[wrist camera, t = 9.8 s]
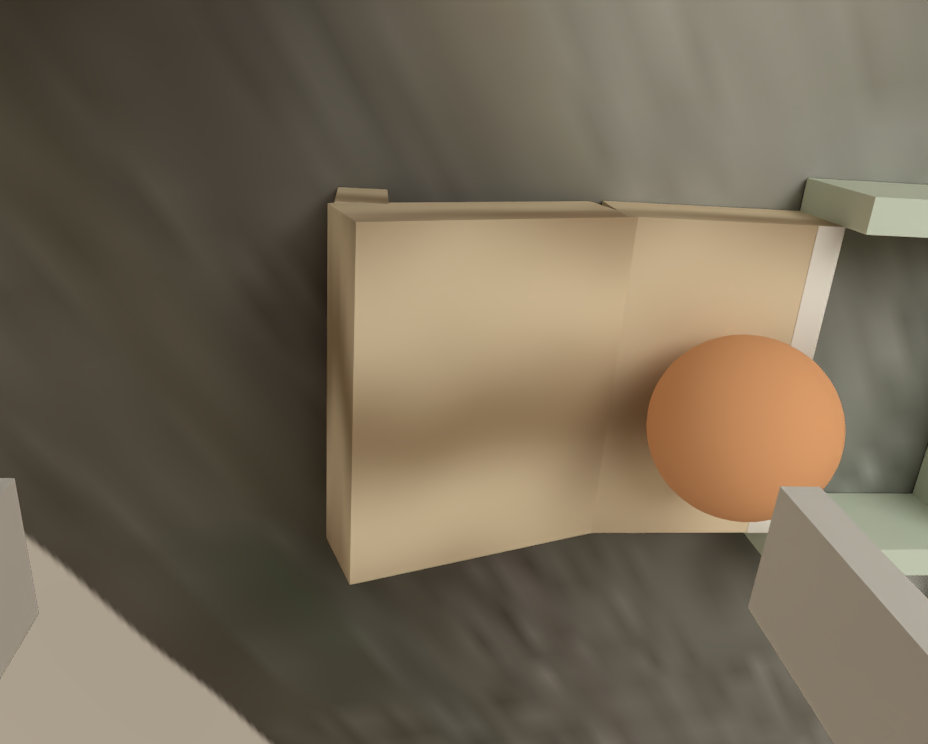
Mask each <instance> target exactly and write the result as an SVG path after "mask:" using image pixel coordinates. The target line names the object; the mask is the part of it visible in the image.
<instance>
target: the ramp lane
mask: <svg viewBox="0 0 928 744" xmlns="http://www.w3.org/2000/svg"><path fill="white" fill-rule="evenodd" d="M845 228H846V227H843V226H840V225H838V224H835V223H832V222H829V221H827V220H824V219H821V218H818V217H816V216H813V215H810V214H807V213H804V212H802V211H792V210H772V209H753V208H734V207H714V206H695V205H676V204H657V203H637V202H618V201H602V205H599V204H596V203H593V202H590V201H549V202H417V203H389V200H388V192H387V190H386V189H367V188H348V187H338V189H337V193H336V197H335V201H334V203H328V229H327V503H326V538H327V540H328V542H329V544H330V546H331V548H332V550H333V552H334V554H335V556H336V558H337V560H338V562H339V564H340V566H341V568H342V570H343V572H344V574H345V576H346V578H347V580H348V582H349V584H350V585H352V584H356V583H361V582H366V581H370V580H375V579H379V578H384V577H389V576H393V575H398V574H403V573H407V572H412V571H417V570H421V569H426V568H431V567H435V566H440V565H445V564H449V563H454V562H458V561H463V560H468V559H472V558H477V557H482V556H486V555H491V554H496V553H500V552H505V551H510V550H514V549H519V548H524V547H528V546H533V545H537V544H542V543H547V542H551V541H556V540H561V539H565V538H570V537H575V536H579V535H584V534H589V533H734V532H747V533H768V530H769V526H770V522H771V520H766V521H760V522H736V521H729V520H725V519H721V518H717V517H714V516H712V515H709V514H706V513H704V512H702V511H700V510H698V509H696V508H694V507H693V506H691V505H690V504H688V503H687V502H686V501H684V500H683V499H682V498H681V497H679V496H678V495H677V494H676V493H675V492H674V491H673V490H672V489H671V488H670V487H669V485H668V484H667V483H666V482H665V481H664V479H663V477H662V476H661V474H660V473H659V471H658V469H657V468H656V466H655V463H654V461H653V458H652V456H651V453H650V449H649V445H648V440H647V429H646V421H647V413H648V407H649V403H650V399H651V396H652V394H653V391H654V389H655V387H656V385H657V383H658V381H659V380H660V378H661V377H662V375H663V374H664V373H665V371H666V370H667V369H668V368H669V366H670V365H671V364H672V363H673V362H675V361H676V360H677V359H678V358H679V357H680V356H681V355H683V354H684V353H686V352H687V351H688V350H690V349H691V348H693V347H695V346H697V345H699V344H701V343H704V342H706V341H709V340H712V339H715V338H719V337H723V336H729V335H757V336H764V337H768V338H773V339H776V340H778V341H781V342H784V343H786V344H788V345H790V346H792V347H794V348H796V349H798V350H799V351H801V352H802V353H804V354H805V355H807V356H808V357H809V358H811V359H812V360H813V357H814V353H815V349H816V345H817V341H818V337H819V333H820V329H821V325H822V321H823V317H824V313H825V309H826V305H827V301H828V297H829V293H830V289H831V284H832V280H833V276H834V272H835V268H836V264H837V260H838V256H839V252H840V248H841V244H842V240H843V236H844V232H845Z"/></svg>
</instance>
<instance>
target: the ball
mask: <svg viewBox="0 0 928 744" xmlns="http://www.w3.org/2000/svg"><path fill="white" fill-rule="evenodd" d="M646 429H647V440H648V445H649V449H650V453H651V456H652V458H653V461H654V463H655V466H656V468H657V469H658V471H659V473H660V474H661V476H662V477H663V479H664V481H665V482H666V483H667V484H668V485H669V487H670V488H671V489H672V490H673V491H674V492H675V493H676V494H677V495H678V496H679V497H681V498H682V499H683V500H684V501H686V502H687V503H688V504H690V505H691V506H693V507H694V508H696V509H698V510H700V511H702V512H704V513H706V514H709V515H712V516H714V517H717V518H721V519H725V520H729V521H736V522H760V521H766V520H771V519H772V515H773V511H774V507H775V504H776V500H777V496H778V492H779V489H780V486H795V487H820V488H821V489H822V490H823V489H824V488H825V486H826V485H827V484H828V483H829V481H830V480H831V478H832V476H833V475H834V473H835V471H836V469H837V467H838V465H839V462H840V460H841V456H842V453H843V449H844V444H845V419H844V413H843V409H842V405H841V401H840V399H839V396H838V394H837V392H836V389H835V388H834V386H833V384H832V383H831V381H830V379H829V378H828V377H827V375H826V374H825V373H824V372H823V370H822V369H821V368H820V367H819V366H818V365H817V364H816V363H815V362H814V361H813V360H812V359H811V358H809V357H808V356H807V355H805V354H804V353H802V352H801V351H799V350H798V349H796V348H794V347H792V346H790V345H788V344H786V343H784V342H781V341H778V340H776V339H773V338H768V337H764V336H757V335H729V336H723V337H719V338H715V339H712V340H709V341H706V342H704V343H701V344H699V345H697V346H695V347H693V348H691V349H690V350H688V351H687V352H686V353H684V354H683V355H681V356H680V357H679V358H678V359H677V360H676V361H675V362H673V363H672V364H671V365H670V366H669V368H668V369H667V370H666V371H665V373H664V374H663V375H662V377H661V378H660V380H659V381H658V383H657V385H656V387H655V389H654V391H653V394H652V396H651V399H650V403H649V407H648V413H647V421H646Z"/></svg>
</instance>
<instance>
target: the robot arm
mask: <svg viewBox="0 0 928 744" xmlns="http://www.w3.org/2000/svg"><path fill="white" fill-rule="evenodd" d="M748 609H749V610H750V612H751V613H752V615H753V617H754V618H755V620H756V621H757V623H758V624H759V626H760V628H761V629H762V631H763V632H764V634H765V636H766V637H767V639H768V640H769V642H770V643H771V645H772V647H773V648H774V650H775V651H776V653H777V654H778V656H779V658H780V659H781V661H782V662H783V664H784V665H785V667H786V669H787V670H788V672H789V673H790V675H791V676H792V678H793V680H794V681H795V683H796V684H797V686H798V688H799V689H800V691H801V692H802V694H803V695H804V697H805V699H806V700H807V702H808V703H809V705H810V706H811V708H812V710H813V711H814V713H815V714H816V716H817V717H818V719H819V721H820V722H821V724H822V725H823V727H824V728H825V730H826V732H827V733H828V735H829V736H830V738H831V740H832V741H833V743H834V744H928V599H927V598H926V597H925V596H924V595H923V594H922V593H921V592H920V591H919V589H918V588H917V587H916V586H915V585H914V584H913V583H912V582H911V581H910V580H909V579H908V578H907V577H906V576H905V575H904V574H903V573H902V572H901V571H900V570H899V569H898V568H897V567H896V566H895V564H894V563H893V562H892V561H891V560H890V559H889V558H888V557H887V556H886V555H885V554H884V553H883V552H882V551H881V550H880V549H879V548H878V547H877V546H876V545H875V544H874V543H873V542H872V541H871V540H870V538H869V537H868V536H867V535H866V534H865V533H864V532H863V531H862V530H861V529H860V528H859V527H858V526H857V525H856V524H855V523H854V522H853V521H852V520H851V519H850V518H849V517H848V516H847V515H846V514H845V512H844V511H843V510H842V509H841V508H840V507H839V506H838V505H837V504H836V503H835V502H834V501H833V500H832V499H831V498H830V497H829V496H828V495H827V494H826V493H825V492H824V491H823V490H822V489H821V488H820V487H795V486H780V489H779V492H778V496H777V500H776V504H775V507H774V511H773V515H772V519H771V522H770V526H769V530H768V534H767V537H766V541H765V545H764V549H763V552H762V556H761V560H760V564H759V567H758V571H757V575H756V579H755V582H754V586H753V590H752V594H751V597H750V601H749V605H748ZM38 614H39V612H38V607H37V601H36V595H35V589H34V584H33V578H32V573H31V567H30V562H29V556H28V550H27V545H26V539H25V534H24V528H23V523H22V517H21V511H20V506H19V500H18V495H17V489H16V484H15V478H0V678H1V677H2V675H3V673H4V672H5V670H6V668H7V667H8V665H9V663H10V661H11V660H12V658H13V657H14V655H15V653H16V651H17V650H18V648H19V646H20V645H21V643H22V641H23V640H24V638H25V636H26V634H27V633H28V631H29V629H30V627H31V626H32V624H33V623H34V621H35V619H36V617H37V616H38Z"/></svg>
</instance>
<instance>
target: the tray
mask: <svg viewBox="0 0 928 744" xmlns="http://www.w3.org/2000/svg"><path fill="white" fill-rule="evenodd" d="M800 211H802V212H804V213H807V214H810V215H813V216H816V217H818V218H821V219H824V220H827V221H829V222H832V223H835V224H838V225H840V226H843V227H846V228H849V229H852V230H854V231H857V232H860V233H863V234H865V235H882V236H902V237H923V238H928V185H921V184H904V183H887V182H869V181H852V180H834V179H817V178H807V182H806V187H805V191H804V196H803V200H802V205H801V209H800ZM826 494H827V495H828V496H829V497H830V498H831V499H832V500H833V501H834V502H835V503H836V504H837V505H838V506H839V507H840V508H841V509H842V510H843V511H844V512H845V514H846V515H847V516H848V517H849V518H850V519H851V520H852V521H853V522H854V523H855V524H856V525H857V526H858V527H859V528H860V529H861V530H862V531H863V532H864V533H865V534H866V535H867V536H868V537H869V538H870V540H871V541H872V542H873V543H874V544H875V545H876V546H877V547H878V548H879V549H880V550H881V551H882V552H883V553H884V554H885V555H886V556H887V557H888V558H889V559H890V560H891V561H892V562H893V563H894V564H895V566H896V567H897V568H898V569H899V570H900V571H901V572H902V573H903V574H904V575H928V447H927V450H926V453H925V456H924V459H923V462H922V465H921V468H920V472H919V475H918V478H917V481H916V484H915V487H914V490H913V494H902V493H826ZM743 533H744V534H745V535H746V537H747V538H748V539H749V540H750V542H751V543H752V544H753V546H754V547H755V548H756V549H757V551H758V552H759V553H760V555H761V556H762V552H763V549H764V545H765V541H766V537H767V534H768V533H747V532H743Z"/></svg>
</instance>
